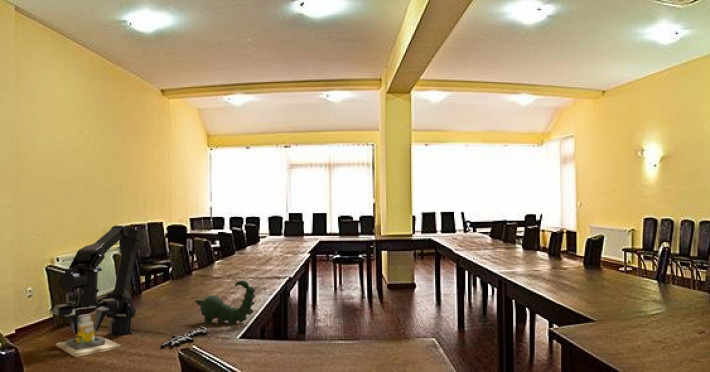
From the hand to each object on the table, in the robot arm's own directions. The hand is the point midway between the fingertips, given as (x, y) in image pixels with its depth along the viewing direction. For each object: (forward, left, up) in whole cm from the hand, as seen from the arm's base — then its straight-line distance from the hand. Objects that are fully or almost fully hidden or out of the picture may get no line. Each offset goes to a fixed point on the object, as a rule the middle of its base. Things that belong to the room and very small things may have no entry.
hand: (86, 332), depth 164 cm
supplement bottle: (0, 0, -4) cm, 4 cm away
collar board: (-1, 0, -5) cm, 5 cm away
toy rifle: (-30, +13, -6) cm, 33 cm away
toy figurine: (-53, +1, -5) cm, 53 cm away
